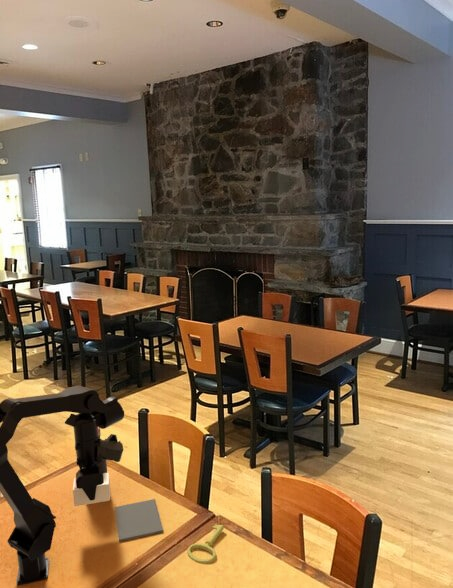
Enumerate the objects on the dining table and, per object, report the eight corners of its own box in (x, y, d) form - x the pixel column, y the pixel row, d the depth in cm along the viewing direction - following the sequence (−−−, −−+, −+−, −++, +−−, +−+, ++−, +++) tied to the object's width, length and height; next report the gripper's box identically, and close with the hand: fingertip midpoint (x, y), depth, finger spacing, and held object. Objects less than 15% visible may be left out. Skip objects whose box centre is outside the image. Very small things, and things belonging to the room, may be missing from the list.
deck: (110, 500, 122) (108, 483, 121) (74, 506, 120) (72, 489, 119) (110, 488, 127) (108, 471, 127) (76, 493, 126) (74, 476, 125)
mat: (163, 532, 123) (163, 529, 123) (119, 541, 120) (118, 539, 120) (155, 500, 137) (155, 498, 136) (115, 508, 134) (114, 506, 133)
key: (225, 531, 124) (224, 523, 123) (213, 566, 112) (213, 558, 111) (197, 528, 125) (197, 520, 125) (183, 562, 113) (183, 554, 113)
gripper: (122, 447, 114) (127, 507, 117) (117, 415, 132) (121, 468, 135) (73, 456, 111) (79, 517, 114) (74, 422, 129) (79, 476, 132)
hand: (92, 493), depth 124 cm, fingers closed on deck, 6 cm apart
